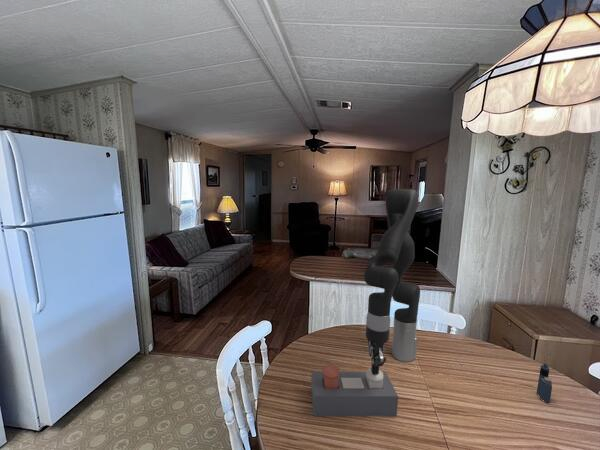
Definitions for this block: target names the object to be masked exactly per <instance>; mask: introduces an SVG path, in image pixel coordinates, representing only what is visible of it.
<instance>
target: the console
mask: <svg viewBox="0 0 600 450" xmlns="http://www.w3.org/2000/svg"><path fill="white" fill-rule="evenodd" d="M382 372H383V389H369V387H368V385H367V382H366V371H339V377H338V388H324V386H323V371H311V378H310V379H311V382H310V383H311V384H310V391H311V403H312V413H313V417H397V416H398V406H399V405H398V403H399V396H398V394H397V391H396V389H395V387H394V385H393V383H392V381H391V379H390V378H389V376H388V374H387V371H382Z"/></svg>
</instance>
